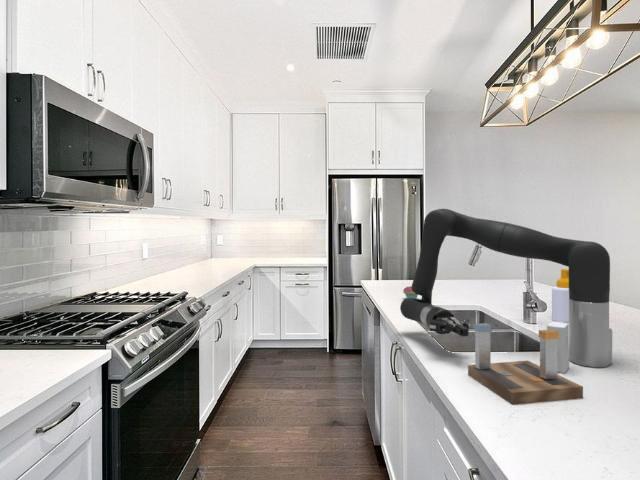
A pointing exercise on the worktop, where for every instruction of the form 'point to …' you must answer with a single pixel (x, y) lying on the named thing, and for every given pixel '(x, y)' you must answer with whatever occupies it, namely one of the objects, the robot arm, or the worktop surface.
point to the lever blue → (482, 345)
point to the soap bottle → (561, 298)
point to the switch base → (524, 383)
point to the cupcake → (410, 292)
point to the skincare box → (561, 345)
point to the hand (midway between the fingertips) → (465, 332)
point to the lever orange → (548, 353)
